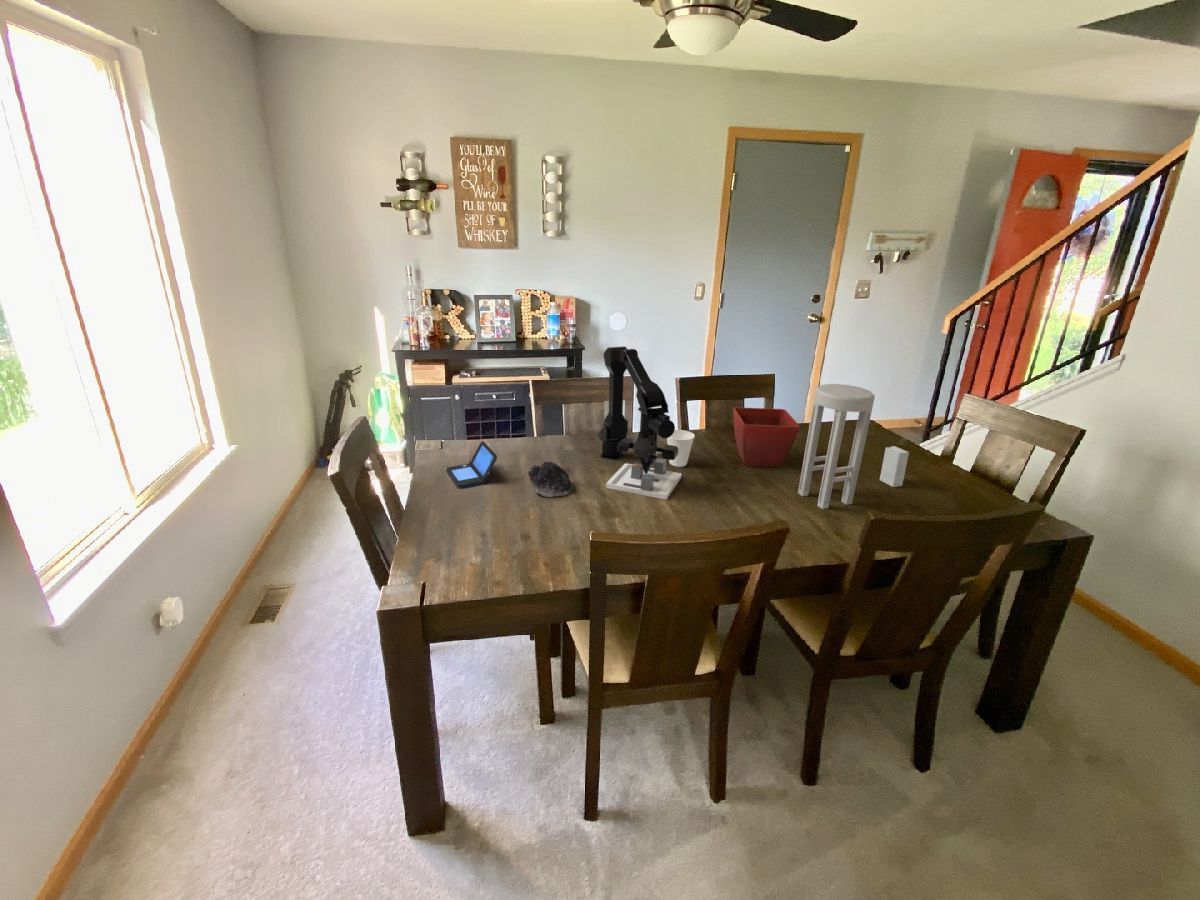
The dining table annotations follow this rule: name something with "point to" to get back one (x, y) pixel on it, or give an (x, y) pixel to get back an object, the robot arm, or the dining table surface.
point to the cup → (681, 446)
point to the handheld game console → (474, 468)
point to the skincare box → (894, 466)
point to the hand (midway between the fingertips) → (646, 473)
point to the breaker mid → (637, 471)
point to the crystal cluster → (550, 480)
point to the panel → (625, 483)
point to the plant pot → (764, 435)
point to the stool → (836, 439)
